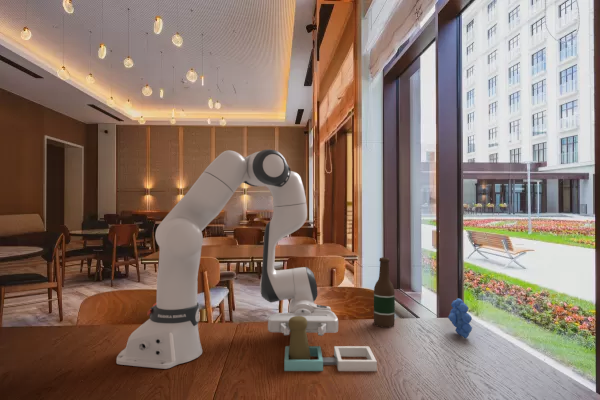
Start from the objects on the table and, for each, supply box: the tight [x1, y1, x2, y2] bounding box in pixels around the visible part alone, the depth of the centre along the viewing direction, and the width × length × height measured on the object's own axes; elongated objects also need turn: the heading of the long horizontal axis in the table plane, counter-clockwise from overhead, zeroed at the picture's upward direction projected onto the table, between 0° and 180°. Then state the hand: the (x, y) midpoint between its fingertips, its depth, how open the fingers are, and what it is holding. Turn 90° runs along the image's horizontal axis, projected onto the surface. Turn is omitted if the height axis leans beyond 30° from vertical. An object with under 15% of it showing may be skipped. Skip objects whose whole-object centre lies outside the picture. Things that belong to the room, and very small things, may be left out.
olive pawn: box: [288, 316, 312, 360], centre depth 99 cm, size 6×6×11 cm
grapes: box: [447, 297, 473, 339], centre depth 121 cm, size 12×7×12 cm, turn 2°
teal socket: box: [283, 345, 324, 372], centre depth 99 cm, size 10×10×2 cm
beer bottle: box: [373, 257, 396, 329], centre depth 132 cm, size 8×8×24 cm
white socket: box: [322, 345, 378, 372], centre depth 99 cm, size 14×10×2 cm
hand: (303, 332), depth 98 cm, fingers open, 8 cm apart
